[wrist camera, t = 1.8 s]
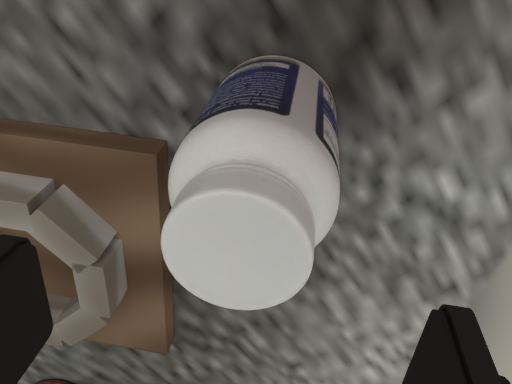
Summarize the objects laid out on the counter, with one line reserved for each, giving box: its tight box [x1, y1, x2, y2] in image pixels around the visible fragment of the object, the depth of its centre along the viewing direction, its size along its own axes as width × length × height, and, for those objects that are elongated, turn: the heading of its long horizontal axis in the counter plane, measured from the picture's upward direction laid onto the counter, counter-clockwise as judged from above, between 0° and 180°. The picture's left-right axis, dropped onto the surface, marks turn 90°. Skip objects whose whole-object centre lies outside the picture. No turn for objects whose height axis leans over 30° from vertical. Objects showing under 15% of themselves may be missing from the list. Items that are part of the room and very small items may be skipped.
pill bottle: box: [161, 55, 340, 310], centre depth 15 cm, size 5×5×10 cm
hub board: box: [0, 118, 174, 354], centre depth 23 cm, size 14×14×4 cm
